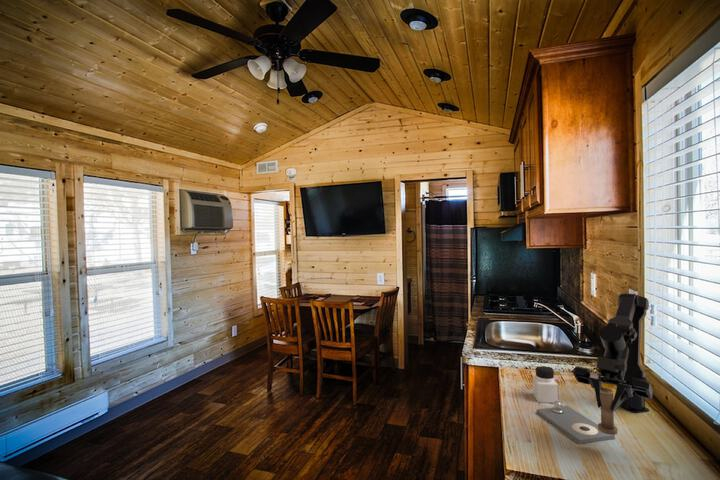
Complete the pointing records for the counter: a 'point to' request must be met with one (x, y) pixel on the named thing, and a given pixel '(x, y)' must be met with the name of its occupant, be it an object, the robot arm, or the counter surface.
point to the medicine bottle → (545, 385)
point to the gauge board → (575, 425)
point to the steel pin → (557, 407)
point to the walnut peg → (607, 412)
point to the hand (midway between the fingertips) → (605, 409)
